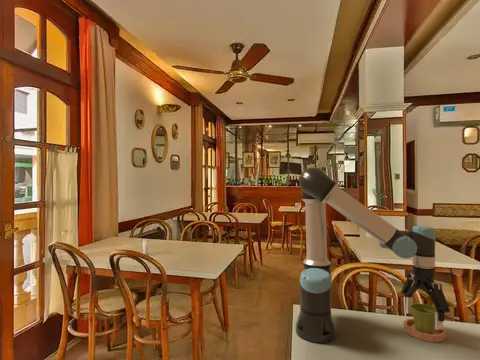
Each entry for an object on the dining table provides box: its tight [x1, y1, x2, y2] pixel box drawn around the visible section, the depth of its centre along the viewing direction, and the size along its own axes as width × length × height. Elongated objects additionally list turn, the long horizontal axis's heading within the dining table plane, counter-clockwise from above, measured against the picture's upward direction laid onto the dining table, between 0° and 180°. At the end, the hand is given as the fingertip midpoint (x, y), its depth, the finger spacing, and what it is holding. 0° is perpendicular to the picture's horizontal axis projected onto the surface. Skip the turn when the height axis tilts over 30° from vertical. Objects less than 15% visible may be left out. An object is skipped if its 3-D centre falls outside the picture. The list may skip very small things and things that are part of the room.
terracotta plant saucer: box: [402, 317, 448, 343], centre depth 114 cm, size 14×14×2 cm
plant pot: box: [410, 302, 437, 334], centre depth 114 cm, size 9×9×9 cm
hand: (423, 320), depth 114 cm, fingers open, 13 cm apart
